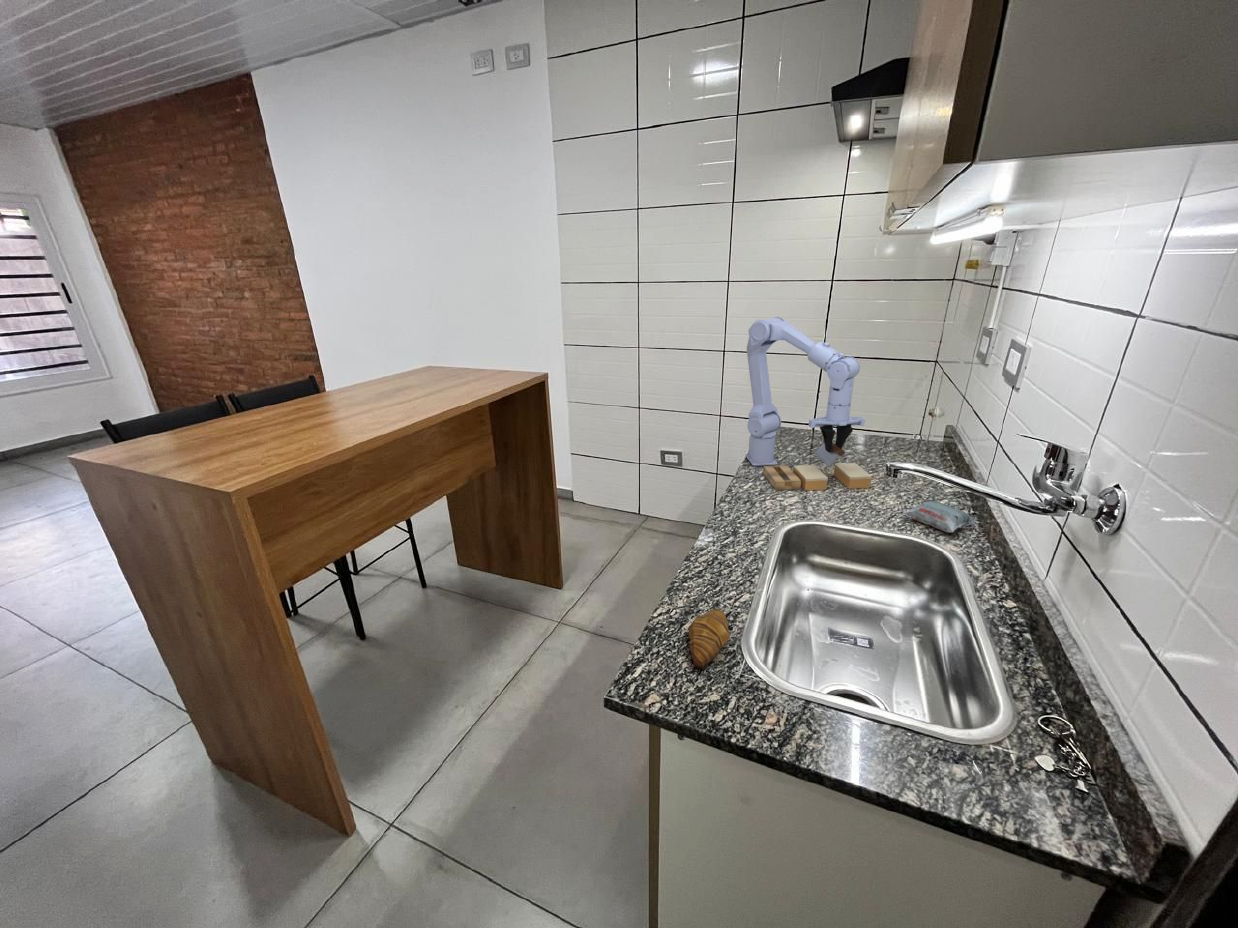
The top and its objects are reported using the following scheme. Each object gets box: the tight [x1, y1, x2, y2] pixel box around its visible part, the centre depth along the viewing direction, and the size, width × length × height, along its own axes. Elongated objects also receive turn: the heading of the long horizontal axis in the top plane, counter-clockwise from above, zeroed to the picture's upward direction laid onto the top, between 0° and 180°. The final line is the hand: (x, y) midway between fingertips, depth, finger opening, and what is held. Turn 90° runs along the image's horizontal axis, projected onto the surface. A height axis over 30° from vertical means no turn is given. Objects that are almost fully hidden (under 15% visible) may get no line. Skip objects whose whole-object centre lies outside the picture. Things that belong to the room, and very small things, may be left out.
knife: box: [814, 440, 846, 467], centre depth 135 cm, size 10×2×6 cm
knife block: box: [762, 464, 802, 491], centre depth 140 cm, size 12×7×2 cm, turn 1°
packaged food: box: [902, 500, 976, 534], centre depth 112 cm, size 9×12×5 cm
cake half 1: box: [792, 464, 829, 491], centre depth 138 cm, size 10×6×4 cm, turn 1°
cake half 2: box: [832, 462, 873, 490], centre depth 137 cm, size 10×6×4 cm, turn 0°
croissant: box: [688, 609, 731, 670], centre depth 79 cm, size 14×7×5 cm, turn 155°
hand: (832, 450), depth 135 cm, fingers closed on knife, 2 cm apart
